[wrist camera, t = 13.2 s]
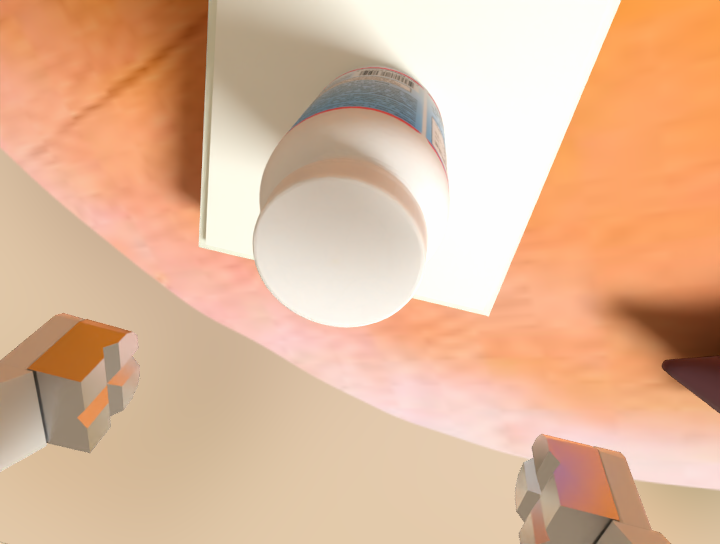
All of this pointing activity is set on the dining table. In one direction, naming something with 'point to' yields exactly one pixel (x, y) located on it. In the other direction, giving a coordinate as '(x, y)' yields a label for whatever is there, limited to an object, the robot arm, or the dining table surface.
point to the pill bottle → (354, 200)
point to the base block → (442, 80)
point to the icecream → (698, 377)
